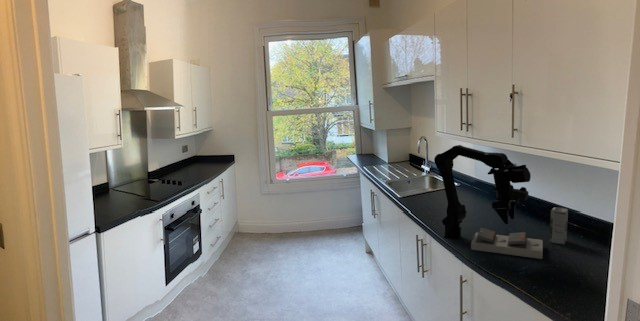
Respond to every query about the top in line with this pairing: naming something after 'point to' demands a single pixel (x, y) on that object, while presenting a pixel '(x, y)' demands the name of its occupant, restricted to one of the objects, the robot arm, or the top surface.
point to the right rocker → (517, 238)
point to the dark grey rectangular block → (486, 234)
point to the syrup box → (558, 225)
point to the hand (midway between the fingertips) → (509, 221)
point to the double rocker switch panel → (508, 246)
